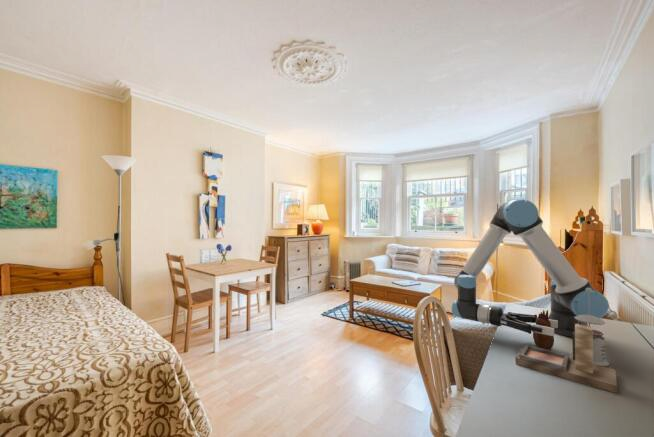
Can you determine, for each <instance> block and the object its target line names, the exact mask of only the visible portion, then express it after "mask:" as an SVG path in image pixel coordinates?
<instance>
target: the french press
mask: <svg viewBox="0 0 654 437" xmlns="http://www.w3.org/2000/svg"><path fill="white" fill-rule="evenodd" d="M585 291H588V292H589V291H591V292H592V289H591V288H586V289H585ZM574 318H575V319H576V320H578V324H579V321H581V324H582V322H584V323H586V324H588V326H590V327H591V325H598V326H602V325H605V324H606V322H605V321H604V320H603V319H602V318H598V317H595V316H591V315H590V298H589V315H578V316H575V317H574ZM584 323H583V325H586V324H584ZM592 330H593V364H595V365H599V366H603V367H606V366H609V365H610V362H608V360H607V359H606V338H605V337H604V333H603V332H602V331H600V330H597V329H592ZM571 356H572V357H573V353H572V354H571Z"/></svg>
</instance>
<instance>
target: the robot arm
mask: <svg viewBox="0 0 654 437" xmlns="http://www.w3.org/2000/svg"><path fill="white" fill-rule="evenodd" d="M543 222H544V220H542V218H541V216H540V215H539V209H538V207H537V205H536V204H535V203H533V202H532V201H530V200H528V199H522V198H517V199H512V200H510V201H507V202H504V203H502V204H501V205H500V206H499V207H498V209H497V210H496V212H495V214H494V216H493V217H492V219H491V220H490V223H489V224H488V225H489V227H488V229H487V231H486V232H485V234H484V236H483V237H482V238H481V240H480V242H479V244H478V245H477V246H476V248H475V249H474V250H473V252H472V254H471V255H470V256H469V259H468V260H467V261H466V263H465V264H464V266H463V267H462V269H461V271H460V272H459V274H457V275H456V276H455V277H454V280H453V284H454V286H455V288H456V289H457V299H454V300H453V301H452V304H451V313H452V315H453V316H454V317H456V318H461V319H463V320H469V321H472V322H473V321H474V322H478V323H482V324H483V325H485V324H488V325H492V326H496V327H501V326H505V327H509V328H511V329H514V330H517V331H521V332H524V333H527V334H531V335H532V333H533V332H536V333H540V334H545V335H550V336H554V337H555V334H557V335H560V336H563V337H564V336H565V337H569V338H573V336H572V334H573V331H574V332H575V324H578V320H576V319H575V318H574V317H575V316H578V315H589V298H590V315H591V316H595V317H598V318H600V319H602V318H603V317H604V316H605V315H606V314H607V313H608V311H609V308H610V305H609V301H608V298H606V296H605V295H604V294H602V293H601V292H600V291H597V290H595V288H594V287H593V285H592V284H591V282H590V281H589V280H588V279H587V278H584V277H582V276H580V275H579V274H578V273H577V271H576V270H575V269H574V267H573V266H572V265H571V263H570V262H569V261H568V260H567V258H566V256H564V254H563V253H562V251H561V250H560V249H559V248H558V246H557V245H556V244H555V243H554V241H553V240H552V238H551V237H550V235H549V234H548V233H547V232H546V231H545V228H544V227H543ZM511 233H513V235H514V236H516V237H520V238H521V239H522V241H523V242H524V244H525V245H526V246H527V248H529V250H530V251H531V252H532V254H533V256H534V258H536V260H537V261H538V262H539V263H540V265H541V267H542V268H543V269H544V271H545V272H546V273H547V274H548V276H549V278H550V279H551V280H550V286H549V288H550V313H549V314H548V320H549V321H550V323H551V328H550V327H545V326H540V325H536V319H537V318H538V314H526V313H520V312H519V313H517V312H511V311H508V312H507V313H504V312H503V309H502V308H501V307H498V306H497V307H496V306H491V305H486V304H481V303H477V286H478V285H477V278H478V277H479V275H480V274H481V273H482V272H483V270H484V268H485V267H486V266H487V264H488V262H489V261H490V259H491V258H492V257H493V255H494V254H495V252H496V251H497V249H498V247H499V246H500V245H501V243H502V242H503V240H504V239H505V237H506V236H507V235H511ZM586 288H591V289H592V292H591V291H589V292H588V291H585V289H586ZM583 323H584V322H582V324H581V321H579V325H583ZM584 324H586V323H584ZM585 326H589V323H587V324H586V325H585Z"/></svg>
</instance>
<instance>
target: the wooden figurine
mask: <svg viewBox="0 0 654 437" xmlns="http://www.w3.org/2000/svg"><path fill="white" fill-rule="evenodd" d="M537 317H538V318H537V319H536V323H535V325H540V326H545V327H550V328H551V323H550V321H549V320H548V318H549V309H547V310H546V312H545V309H544V310H542V312H540V313H538V314H537ZM532 339H533V341H534V342H533V343H534V344H535V347H538V348H542V349H546V350H552V349H553V347H554V343H555V335H554V336H550V335H545V334H540V333H536V332H532Z"/></svg>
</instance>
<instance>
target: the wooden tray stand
mask: <svg viewBox="0 0 654 437" xmlns="http://www.w3.org/2000/svg"><path fill="white" fill-rule="evenodd" d="M593 330H594V329H593V326H591V325H590V326H589V325H588V326H585V325H579V324H575V332H574V331H573V334H572V336H573V337H572V354H573V356H572V358H571V357H570V355H569V354H568V353H567V354H565V353H562V352H558V351H554V350H552V349H550V350H546V349H542V348H538V347H537V346H533V345H531V344H530V345H529V344H525V346H522V347H521V349H520V351H519V352H518V353H517V355H516V357H515V365H518V366H522V367H524V368H529V369H531V370H532V369H533V370H536V371H540V372H543V373H546V374H550V375H553V376H557V377H560V378H563V379H567V380H571V381H574V382H577V383H582V384H584V385H587V386H588V385H589V386H591V387H595V388H598V389H601V390H605V391H607V392H608V391H609V392H612V393H616V394H618V383H617V382H618V381H617V372H616V369H614V368H610V367H606V366H600V365H595V364H593Z"/></svg>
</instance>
